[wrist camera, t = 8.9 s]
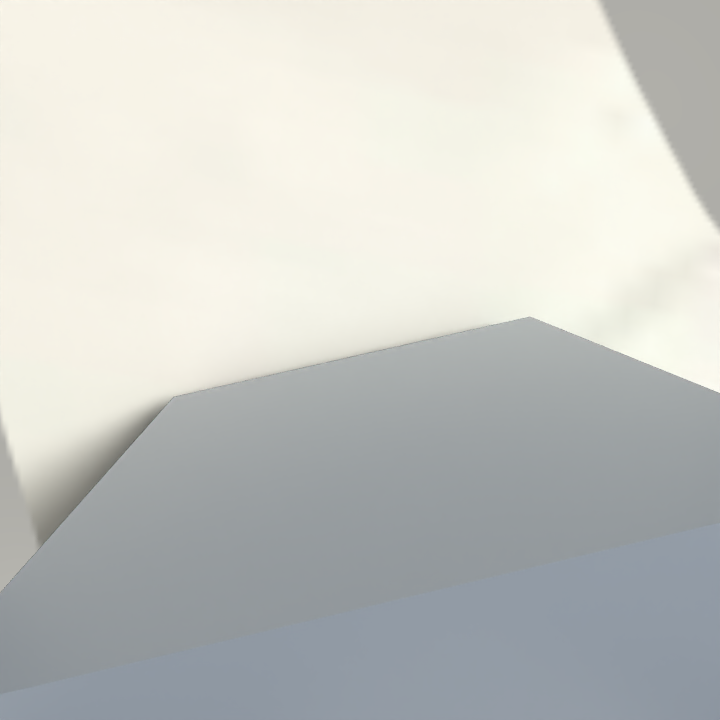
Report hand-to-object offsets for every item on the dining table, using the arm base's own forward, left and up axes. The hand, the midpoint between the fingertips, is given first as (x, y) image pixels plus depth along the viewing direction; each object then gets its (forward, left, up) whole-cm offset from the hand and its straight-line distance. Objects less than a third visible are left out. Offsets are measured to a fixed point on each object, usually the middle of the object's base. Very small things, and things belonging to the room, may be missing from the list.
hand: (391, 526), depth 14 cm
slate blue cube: (0, 0, -1) cm, 1 cm away
